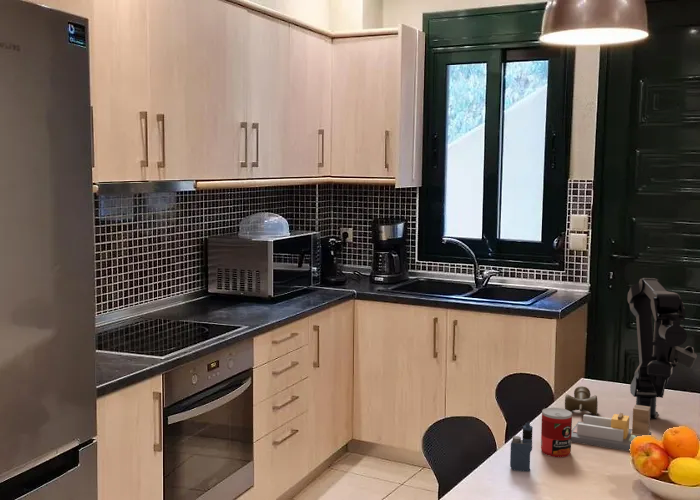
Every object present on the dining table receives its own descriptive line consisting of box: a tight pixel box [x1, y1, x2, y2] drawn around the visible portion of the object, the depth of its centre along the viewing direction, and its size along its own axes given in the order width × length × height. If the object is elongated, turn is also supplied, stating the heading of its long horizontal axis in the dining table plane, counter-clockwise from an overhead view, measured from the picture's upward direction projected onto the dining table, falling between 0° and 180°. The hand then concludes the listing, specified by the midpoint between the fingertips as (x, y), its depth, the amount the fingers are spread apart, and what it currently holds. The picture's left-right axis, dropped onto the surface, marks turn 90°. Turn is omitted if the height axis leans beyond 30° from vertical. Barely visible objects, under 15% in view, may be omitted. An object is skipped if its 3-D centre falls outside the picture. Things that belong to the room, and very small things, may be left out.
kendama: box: [564, 385, 599, 416], centre depth 248 cm, size 6×10×20 cm
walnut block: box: [631, 404, 651, 435], centre depth 222 cm, size 4×4×7 cm
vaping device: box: [509, 422, 533, 472], centre depth 199 cm, size 3×5×12 cm, turn 78°
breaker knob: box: [611, 412, 630, 439], centre depth 220 cm, size 5×4×6 cm
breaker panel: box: [571, 414, 652, 452], centre depth 222 cm, size 14×20×4 cm
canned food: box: [540, 407, 573, 458], centre depth 211 cm, size 8×8×11 cm
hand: (661, 391), depth 226 cm, fingers open, 9 cm apart
